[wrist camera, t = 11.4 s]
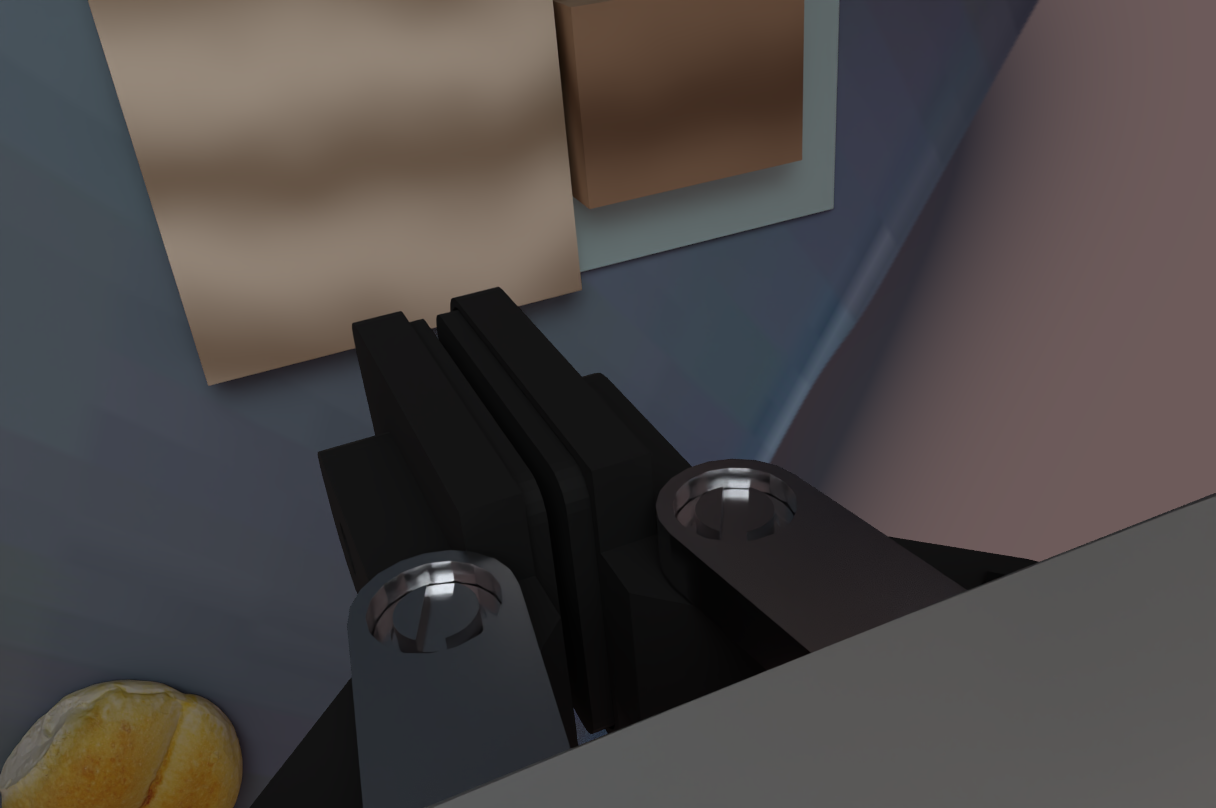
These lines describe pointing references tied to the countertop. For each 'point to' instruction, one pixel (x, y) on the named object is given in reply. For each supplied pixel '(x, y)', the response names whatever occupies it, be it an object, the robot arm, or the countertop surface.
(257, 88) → the ash deck
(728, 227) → the teal mat
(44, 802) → the bread roll
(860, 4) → the countertop surface
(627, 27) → the walnut tile
